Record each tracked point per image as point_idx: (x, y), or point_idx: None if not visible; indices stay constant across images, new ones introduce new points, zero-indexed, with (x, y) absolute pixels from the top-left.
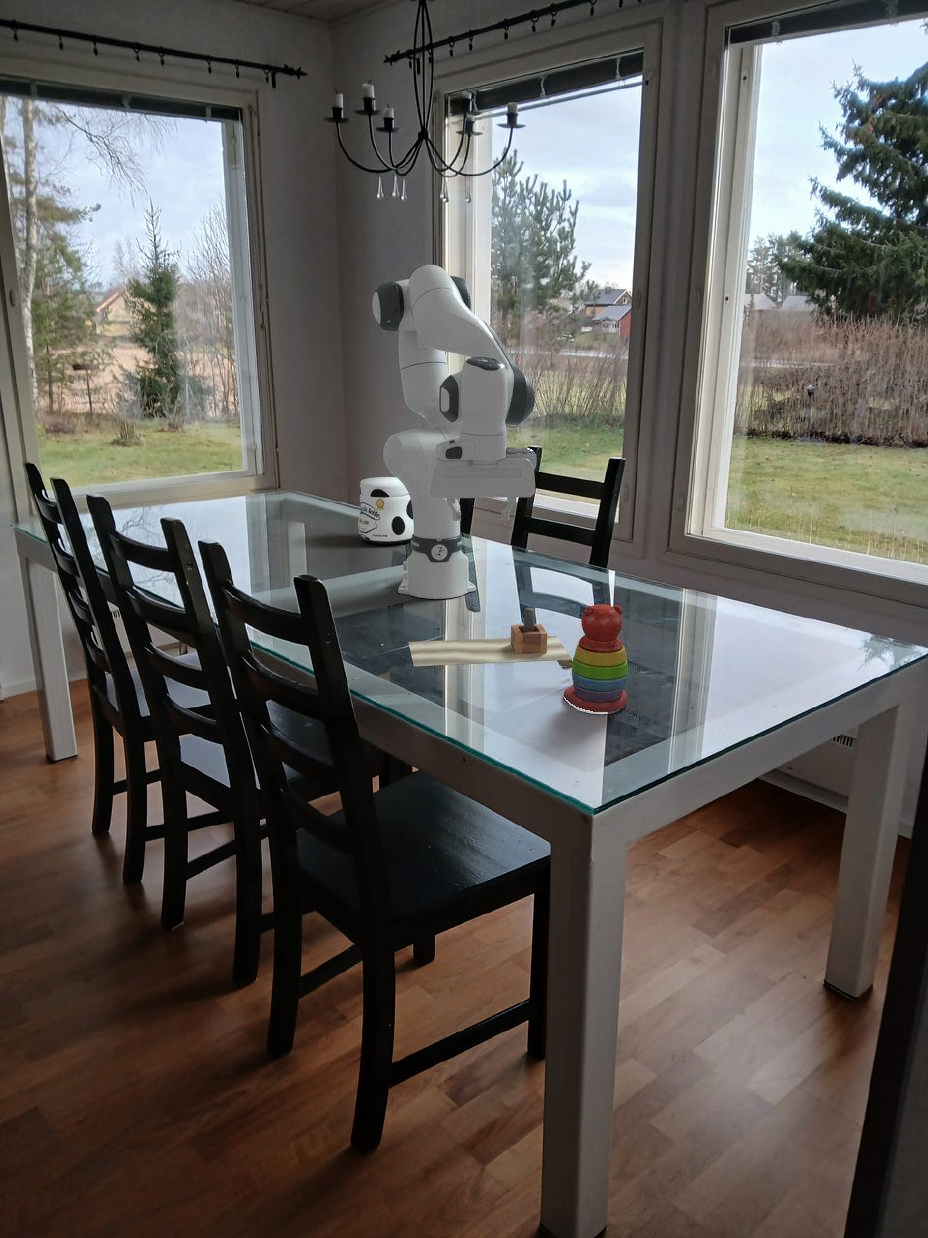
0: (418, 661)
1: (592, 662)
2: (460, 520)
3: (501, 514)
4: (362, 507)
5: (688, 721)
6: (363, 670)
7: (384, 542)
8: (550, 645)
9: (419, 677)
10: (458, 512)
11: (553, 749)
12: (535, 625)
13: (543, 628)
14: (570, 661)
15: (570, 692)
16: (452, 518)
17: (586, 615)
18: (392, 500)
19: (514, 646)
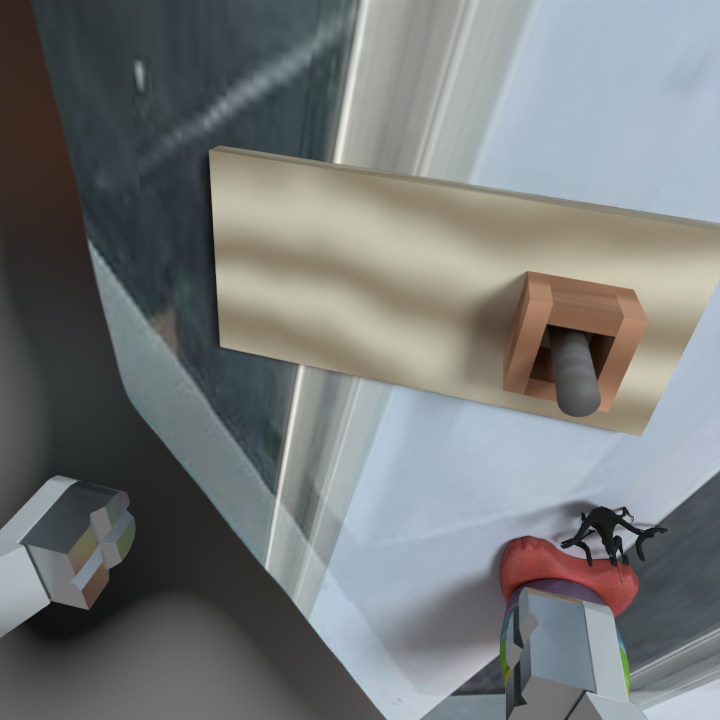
0: (232, 321)
1: None
2: (130, 538)
3: (535, 624)
4: None
5: (670, 677)
6: (114, 278)
7: None
8: (652, 321)
9: (240, 359)
10: (65, 603)
11: (404, 648)
12: (617, 330)
13: (625, 369)
14: (564, 548)
15: (509, 579)
16: (55, 483)
17: None
18: None
19: (510, 340)
